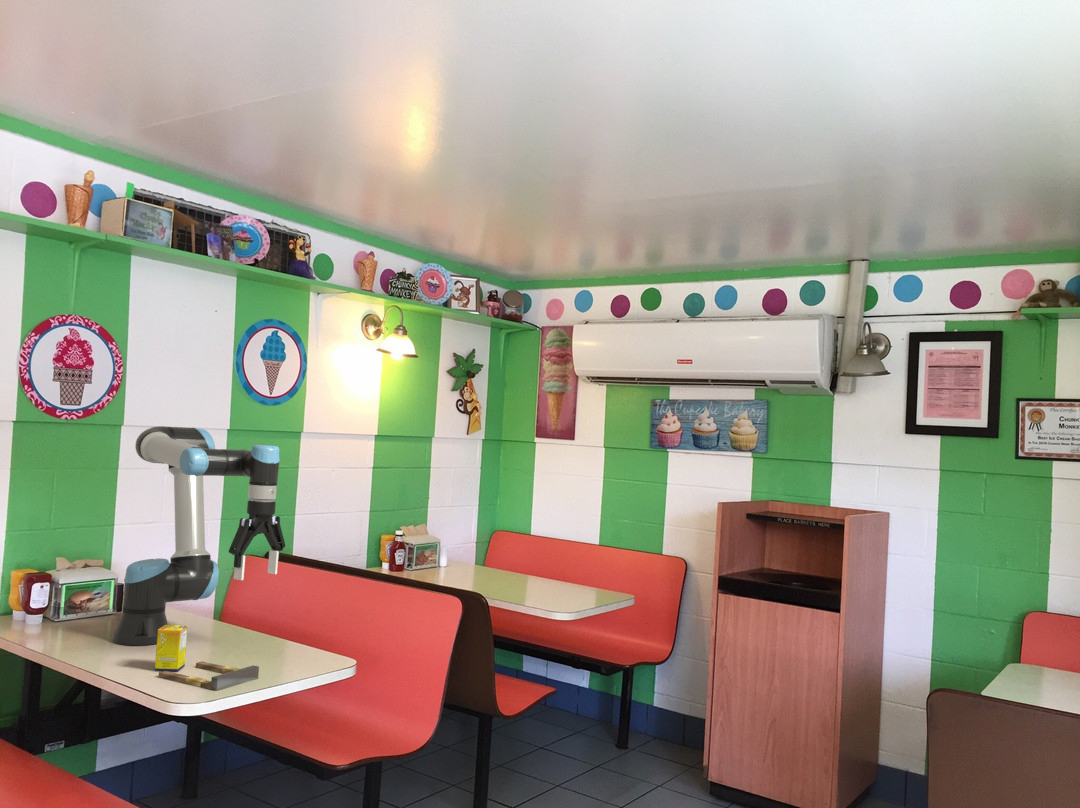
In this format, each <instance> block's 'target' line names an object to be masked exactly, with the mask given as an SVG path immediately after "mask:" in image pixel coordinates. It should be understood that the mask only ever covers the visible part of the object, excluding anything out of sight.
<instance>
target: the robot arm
mask: <svg viewBox="0 0 1080 808" xmlns="http://www.w3.org/2000/svg"><path fill="white" fill-rule="evenodd" d="M134 447H135V451H136V453H137V455H138V457H139V458H140V459H142V460H143V461H145V462H149V463H151V464H152V463H153V464H163V465H165V464H166V465H168V472H169V473H170V474H172V476H173V490H174V493H173V494H174V532H175V533H174V537H175V538H174V539H175V547H174V549H175V552H174V553H173V554H172V555H171V556H170V560H169V559H167V558H148V559H141V560H137V561H134V562H131V563H130V564H129V565H128V566H127V567H126V569H125V575H124V579H123V581H124V585H123V597H122V598H123V599H122V600H123V601H122V611H121V616H120V619H119V621H118V624H117V627H116V630H115V631H114V633H113V642H114V643H115V644H118V645H124V646H150V645H157V635H158V629H160V628H161V627H163V626H165V625H169V623H168V621H167V616H166V615H167V614H166V605H167V603H173V602H183V601H198V600H202V599H207V598H209V597H211V596H212V595H213V593H215V591H216V588H217V586H218V585H219V584H218V582H219V577H220V569H219V567H218V564H217V562H216V561H214V560H213V559H211V553H210V552H208V550H206V534H205V503H204V502H205V500H204V499H205V498H204V497H205V496H204V495H205V493H204V492H205V491H204V476H205V477H206V476H216V477H217V476H218V477H249V482H248V491H247V498H248V501H247V505H246V514H248V515H249V516H248V518H244V517H241V518H240V519H239V523H238V528H237V531H236V533H235V534H234V537H233V539H232V541H231V545H230V547H229V548H228V554H231V555H233V559H234V560H233V567H234V569H233V570H234V572H233V580H238V581H244V578H245V564H246V555H244V554H245V552H246V551H247V549H248V548H249V546H250V544H251V543H252V541H253V539H254V538H255V537H256V536H257V535H261V534H263V535H264V537H265V538H266V541H267V543H268V544H269V547H270V548H271V549H270V550H269V551H268V552H269V553H268V562H267V574H272V575H277V574H278V563H279V560H280V551H281V552H282V551H284V548H285V547H286V542H285V538H284V534H283V530H282V526H281V518H280V516H277V515H275V513H276V504H277V503H276V501H275V500H276V499H277V488H278V481H279V480H278V478H279V468H280V462H281V461H280V447H279V446H277V445H269V444H268V445H267V444H254V445H252V447H251V448H252V449H251V450H250V449H246V448H245V449H240V448H239V449H226V448H225V449H223V448H221V449H217V448H216V445H215V440H214V438H213V436H212V434H211V433H210V432H209V431H208V430H206V429H203V428H196V427H183V426H182V427H180V426H179V427H178V426H175V427H174V426H154V427H153V426H152V427H150V428H147V429H145V430H144V431H142V432H141V433H140V434H139V435H138V436H137V438H136V440H135V446H134Z"/></svg>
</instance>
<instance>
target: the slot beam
mask: <svg viewBox="0 0 1080 808" xmlns="http://www.w3.org/2000/svg"><path fill="white" fill-rule="evenodd" d="M195 668H196V669H202V670H206V671H210V672H211V671H212V672H215V673H220V674H217V675H214V676H211V679H210V680H208V679H206V678H202V677H198V676H194V675H191V676H190V675H185V674H182V673H178V672H169V671H162V672H158V678H160V679H164V680H168V681H173V682H177V683H181V684H187V685H189V686H190V685H191V686H194V687H199V688H203V689H208V690H211V691H216V692H217V691H220V690H224V689H227V688H232V687H234V686H237V685H240V684H243V683H247V682H250V681H254V680H256V679H257V680H258V679H259V672H260V671H259V670H260V667H259V666H258V665H249V666H246V667H243V668H237V667H235V666H234V667H232V666H229V665H228V666H224V665H220V664H215V663H211V662H206V661H202V660H201V661H199V662H198V661H197V662H196V663H195Z"/></svg>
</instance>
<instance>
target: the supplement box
mask: <svg viewBox="0 0 1080 808" xmlns="http://www.w3.org/2000/svg"><path fill="white" fill-rule="evenodd" d="M188 627H189V626H188V625H186V624H184V625H181V624H179V625H178V624H168V625H165V626H163V627H161V628H160V629H158V635H157V644H156V651H155V662H154V663H155V665H154V672H155V673H159V672H162V671H169V672H173V673H179V671H180V670H182V669H183V668H184V667H185V663H186V650H187V641H188V639H187V637H188Z"/></svg>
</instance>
